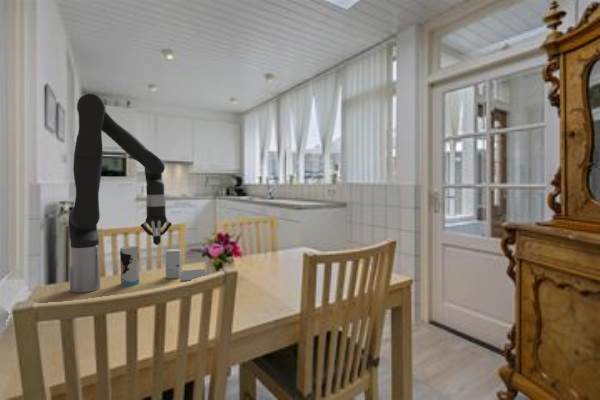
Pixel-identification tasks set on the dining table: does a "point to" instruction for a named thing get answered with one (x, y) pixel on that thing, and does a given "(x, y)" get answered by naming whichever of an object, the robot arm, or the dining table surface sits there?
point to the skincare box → (173, 263)
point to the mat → (192, 274)
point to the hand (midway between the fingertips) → (157, 244)
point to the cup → (129, 265)
